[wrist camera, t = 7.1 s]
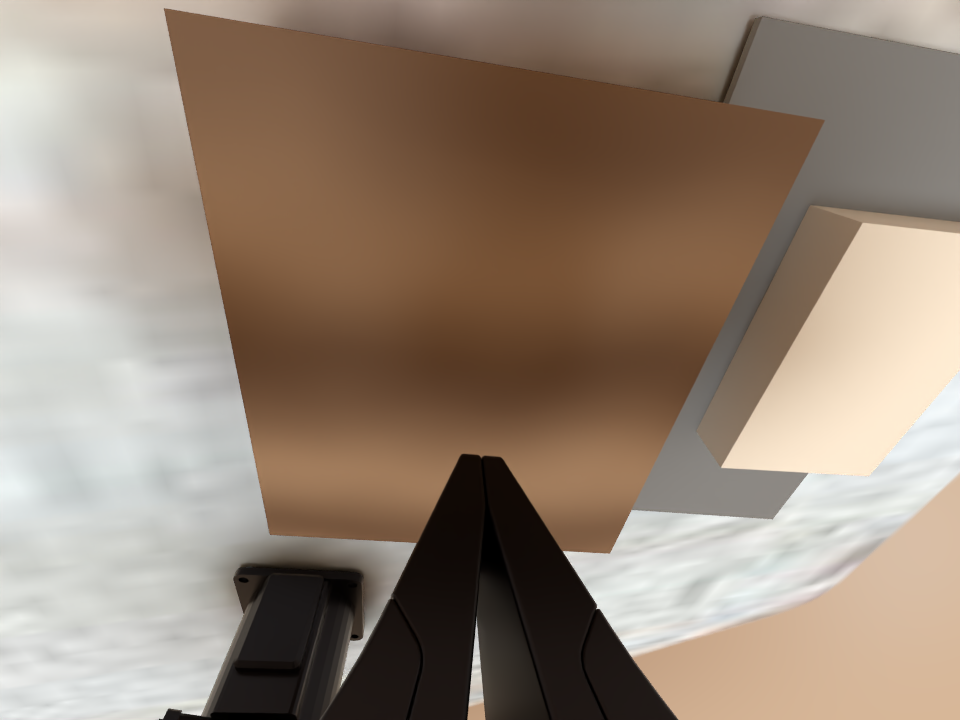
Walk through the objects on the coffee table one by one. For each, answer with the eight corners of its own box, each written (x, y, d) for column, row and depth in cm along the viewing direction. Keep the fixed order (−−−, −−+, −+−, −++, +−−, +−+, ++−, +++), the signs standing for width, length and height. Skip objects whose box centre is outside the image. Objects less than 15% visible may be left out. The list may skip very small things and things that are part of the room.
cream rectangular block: (720, 467, 16) (696, 431, 18) (868, 476, 16) (830, 439, 18) (862, 222, 11) (809, 205, 13) (1065, 245, 12) (989, 225, 13)
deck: (584, 470, 19) (609, 553, 16) (306, 450, 18) (269, 534, 14) (720, 110, 12) (824, 120, 8) (261, 34, 10) (164, 8, 7)
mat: (768, 514, 21) (772, 519, 21) (572, 500, 20) (574, 505, 20) (1097, 83, 12) (1112, 83, 11) (755, 18, 11) (762, 16, 10)
